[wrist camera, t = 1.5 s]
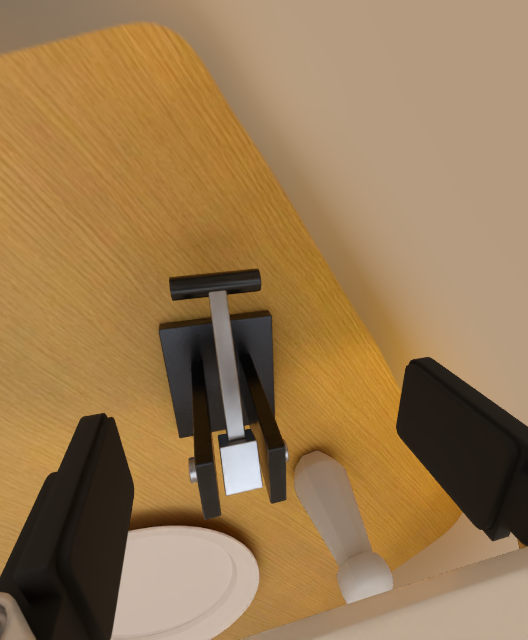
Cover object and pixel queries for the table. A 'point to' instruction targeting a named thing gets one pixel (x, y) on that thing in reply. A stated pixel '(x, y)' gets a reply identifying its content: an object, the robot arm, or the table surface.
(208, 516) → the bracket
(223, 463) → the lever
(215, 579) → the plate
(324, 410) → the table surface
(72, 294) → the table surface
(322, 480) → the salt shaker
